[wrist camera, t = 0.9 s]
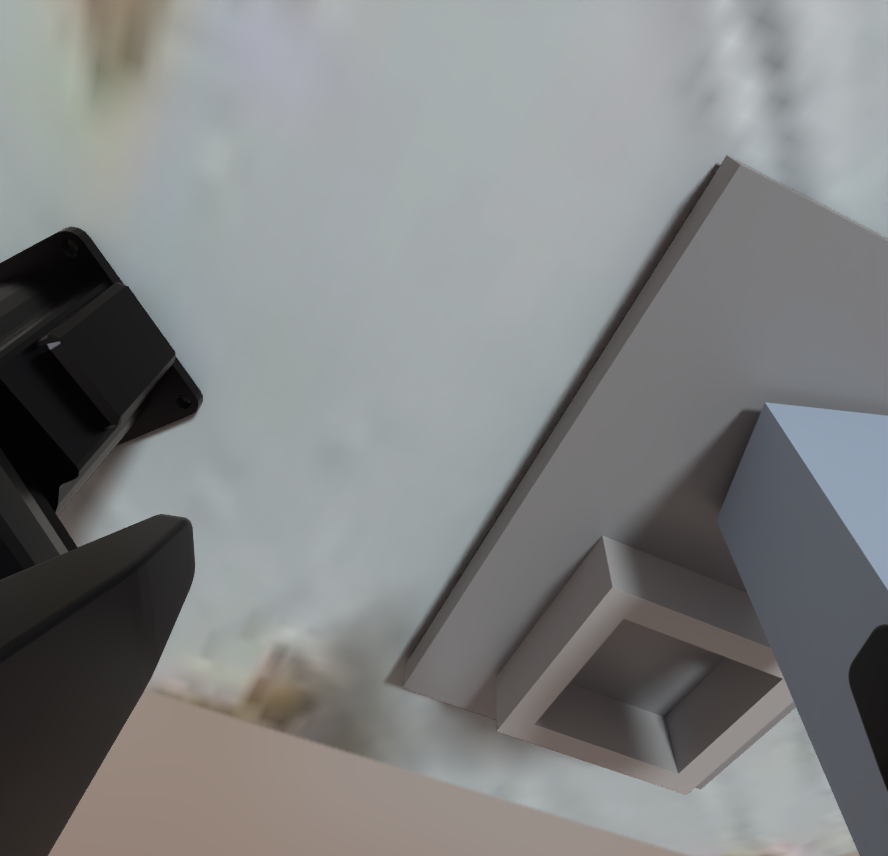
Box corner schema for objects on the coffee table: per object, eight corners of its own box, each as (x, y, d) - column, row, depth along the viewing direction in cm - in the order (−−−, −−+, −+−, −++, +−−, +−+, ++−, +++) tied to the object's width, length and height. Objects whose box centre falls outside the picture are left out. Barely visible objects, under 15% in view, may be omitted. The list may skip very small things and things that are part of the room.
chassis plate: (694, 763, 32) (715, 846, 29) (405, 663, 29) (395, 742, 26) (1134, 366, 21) (1246, 431, 17) (726, 155, 18) (773, 187, 15)
